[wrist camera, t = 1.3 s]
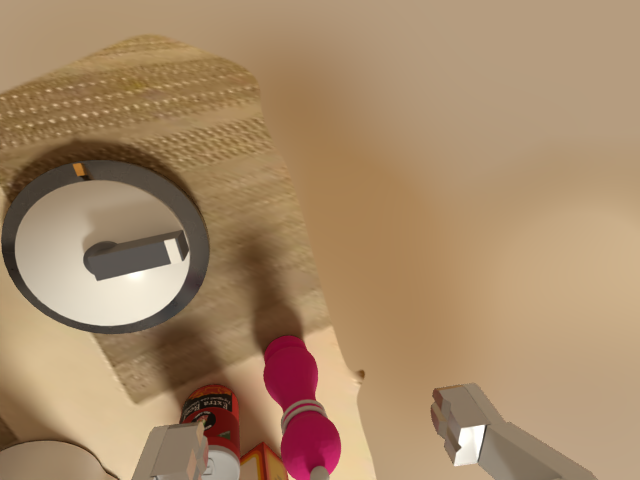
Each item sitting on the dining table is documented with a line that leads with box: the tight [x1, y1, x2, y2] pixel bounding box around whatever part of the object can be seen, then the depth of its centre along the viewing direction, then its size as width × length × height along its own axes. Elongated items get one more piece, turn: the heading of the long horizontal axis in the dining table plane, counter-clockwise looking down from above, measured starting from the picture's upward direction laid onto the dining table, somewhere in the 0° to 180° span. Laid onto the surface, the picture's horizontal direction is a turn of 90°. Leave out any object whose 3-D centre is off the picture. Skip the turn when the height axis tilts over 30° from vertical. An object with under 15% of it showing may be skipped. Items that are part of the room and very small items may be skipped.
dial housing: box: [1, 160, 210, 334], centre depth 35 cm, size 20×20×3 cm
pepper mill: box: [263, 336, 341, 480], centre depth 37 cm, size 7×7×20 cm
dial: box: [15, 180, 191, 326], centre depth 32 cm, size 16×16×6 cm
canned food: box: [179, 384, 240, 480], centre depth 40 cm, size 8×8×11 cm
